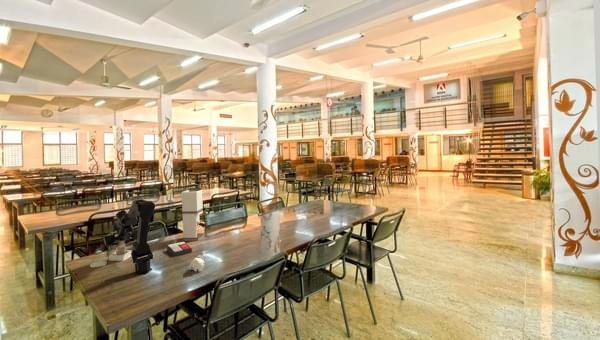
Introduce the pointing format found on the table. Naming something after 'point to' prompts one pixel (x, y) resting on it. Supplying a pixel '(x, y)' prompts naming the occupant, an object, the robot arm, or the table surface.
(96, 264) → the coaster
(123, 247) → the peg
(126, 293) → the table surface
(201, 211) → the tall white pillar
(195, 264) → the white rounded lump
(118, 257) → the pocket
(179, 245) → the calculator
